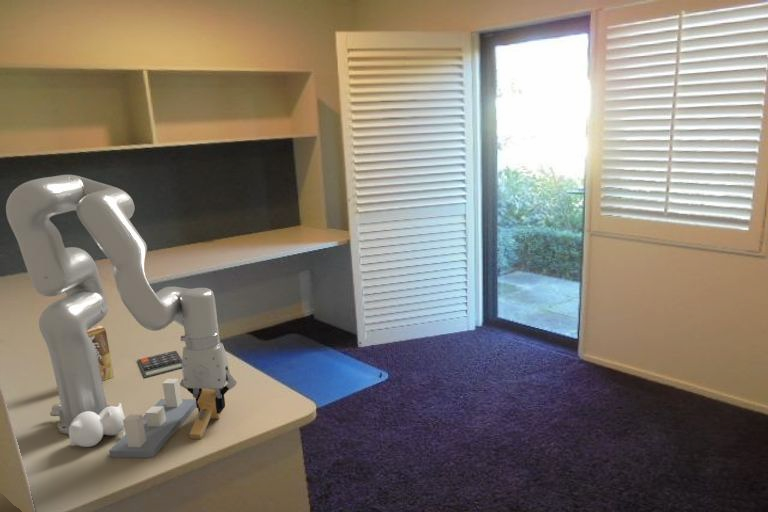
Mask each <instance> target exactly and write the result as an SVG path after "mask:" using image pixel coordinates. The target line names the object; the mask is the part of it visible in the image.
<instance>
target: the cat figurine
mask: <svg viewBox="0 0 768 512" xmlns="http://www.w3.org/2000/svg"><path fill="white" fill-rule="evenodd" d="M125 418H126V417H125V413H124V411H123V406H122V403H121V402H119V403H118V404H117V406H113V405H109V407H106V408H105V409H103V410H102V411H101V412H100V414H99V415H97V414H96V413H94V412H91V411H86V412H83V413H81V414H79V415H78V416H77V417H76V418H75V419H74V420H73V421H72V423H71V425H70V427H69V434H68V436H69V439H70V440H69V446H80V447H84V448H85V447H86V448H90V447H94V446H96V445H97V444H98V443H100V442H101V440H102V439H103V436H104V435H106V436H115V435H117V434H119V433H121V431H122V435H121V438H122V437H123V436H124V435H125V429H124V424H123V420H124V419H125Z"/></svg>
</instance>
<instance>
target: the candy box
mask: <svg viewBox="0 0 768 512" xmlns="http://www.w3.org/2000/svg"><path fill="white" fill-rule="evenodd" d="M87 335H88V337H89V338H90V340H91V341H92V342H93V344H94V346H95V349H96V353H97V357H98V362H99V367H100V373H101V378H102V382H103V381H106V380H109V379H112V378H115V373H114V368H113V362H112V358H111V350H110V346H109V340H108V336H107V335H108V334H107V329H106V328H105V326H102V325H98V326H93V327H91V328H90V329H89V330H87Z"/></svg>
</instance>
